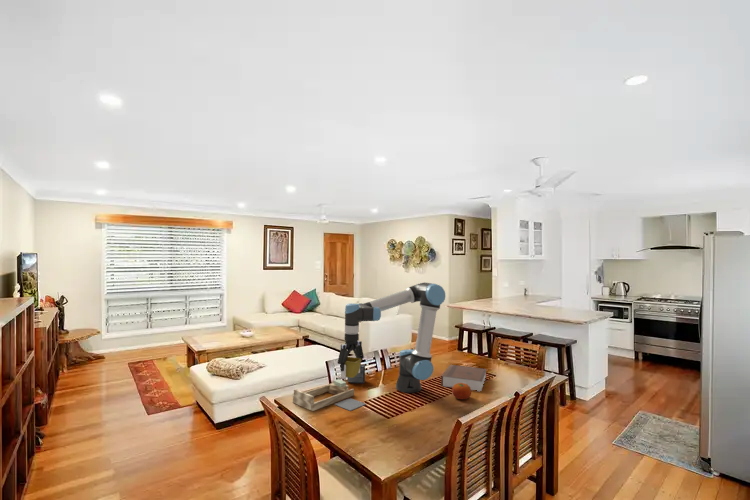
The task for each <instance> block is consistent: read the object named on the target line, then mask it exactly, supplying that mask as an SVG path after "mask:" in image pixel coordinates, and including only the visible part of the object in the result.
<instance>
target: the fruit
mask: <svg viewBox="0 0 750 500" xmlns="http://www.w3.org/2000/svg"><path fill="white" fill-rule="evenodd" d="M451 389H452V390H451V392H452V395H453V397H454V398H455V399H458V400H467V399H468V398H470V397H471V395H472V390H471V388H470V387H469V386H468V385H467V384H465V383H457V384H455V385H454V386H453V387H451Z"/></svg>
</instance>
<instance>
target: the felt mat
mask: <svg viewBox="0 0 750 500" xmlns="http://www.w3.org/2000/svg"><path fill="white" fill-rule="evenodd" d="M333 405H334V406H336V407H338V408H342V409H344V410H347V411H349V412H352V411H353V410H356V409H359V408H361V407H364V406H367V403H365V402H362V401H359V400H357V399H354V398H351V397H349V398H346V399H343V400H341V401H338V402H335V403H333Z"/></svg>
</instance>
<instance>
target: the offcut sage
mask: <svg viewBox="0 0 750 500" xmlns="http://www.w3.org/2000/svg"><path fill="white" fill-rule="evenodd" d="M332 383H333V384H334V385H337V386H339V387H344V386H346V385H347V382H346V381H345V380H342V379H334V380H333V382H332Z"/></svg>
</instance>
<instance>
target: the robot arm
mask: <svg viewBox="0 0 750 500" xmlns="http://www.w3.org/2000/svg"><path fill="white" fill-rule="evenodd" d="M445 300H446V290H445V289H444V288H443V286H441V285H440V284H436V283H431V282H420V283H416V284H414V285H411V286H408V287H406V289H405V290H402V291H399V292H396V293H392V294H390V295H389V294H388V295H386V296H383V297H380V298H376V299H373V300H370V301H367V302H363V303H346V304H345V308H344V309H345V310H344V341H345V342H344V344H342V343H341V344H340V351H339V353H338V358H337V364H338V365H340V370H339V371H340V377H341V378H347V377H346V365H345V362H346V360H347V357H349V354H350V353H351V352H352V351H353V353H354V356H355V358H361V362H362V361H363V359H364V357H365V356H364V351H363V347H362V346H363V345H362V344H363V343H362V341H361V340H359V336H360V334H359V332H360V322H375V321H381V320H380V319H381V317H382V312H385V311H387V310H389V309H392V308H395V307H400V306H402V305H406V304H409V303H411V304H413V303H417V302H419V306H420V308H421V311H420V312H421V313H420V317H419V323H418V329H417V336H416V339H415V340H416V341H415V345H414V347H415V348H414V349H402V350H400V351H399V354H398V355H399V356H398V358H399V359H398V360H399V363H398V364H399V366H398V370H399V371H398V378H397V381H396V384H395V389H396V390H398V391H399V392H402V393H408V394H413V393H418V392H420V391H421V390H422V384H421V381H425V380H428V379H429V378H431V376H432V375H433V373H434V365H433V363H432V358H433V356H432V354H431V347H432V341H433V337H434V336H433V335H434V329H435V324H436V317H437V312H438V311H439V310H440V309H441V305H442V304H443V303H444V302H445ZM361 364H362V363H361ZM361 364H360V366H361ZM358 373H360V369H359V372H358Z"/></svg>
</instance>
